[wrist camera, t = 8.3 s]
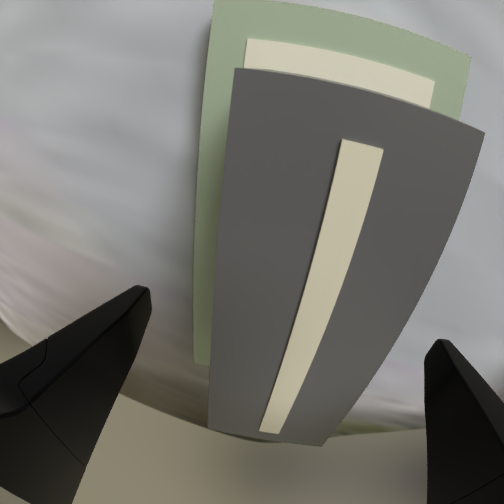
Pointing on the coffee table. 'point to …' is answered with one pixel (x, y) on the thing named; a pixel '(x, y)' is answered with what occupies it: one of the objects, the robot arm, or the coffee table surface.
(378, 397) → the coffee table surface
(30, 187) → the coffee table surface
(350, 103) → the panel
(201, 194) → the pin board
